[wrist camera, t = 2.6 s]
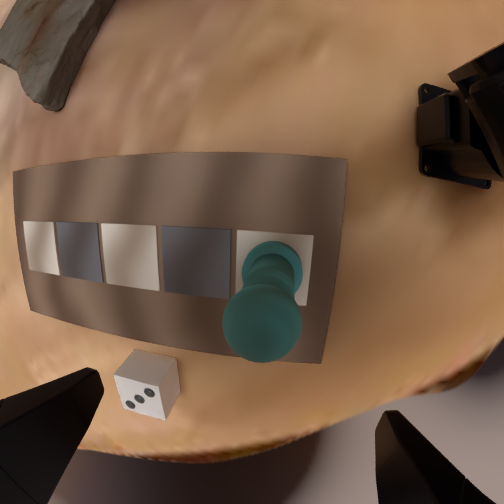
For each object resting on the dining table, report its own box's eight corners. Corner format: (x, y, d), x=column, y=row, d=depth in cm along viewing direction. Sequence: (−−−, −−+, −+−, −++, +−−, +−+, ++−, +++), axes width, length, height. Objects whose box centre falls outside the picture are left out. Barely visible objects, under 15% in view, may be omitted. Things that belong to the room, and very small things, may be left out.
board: (343, 160, 17) (347, 159, 16) (320, 354, 21) (321, 364, 19) (21, 170, 20) (11, 171, 19) (37, 305, 24) (29, 311, 23)
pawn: (304, 243, 17) (315, 303, 9) (299, 298, 18) (301, 385, 10) (245, 238, 18) (207, 294, 10) (243, 293, 19) (209, 376, 11)
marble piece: (64, 114, 19) (31, 109, 15) (-2, 90, 19) (-27, 88, 15) (154, -40, 14) (135, -63, 10) (63, -31, 14) (43, -43, 10)
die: (176, 357, 23) (158, 387, 19) (180, 391, 24) (165, 421, 20) (135, 348, 23) (112, 375, 19) (142, 381, 24) (123, 409, 20)
